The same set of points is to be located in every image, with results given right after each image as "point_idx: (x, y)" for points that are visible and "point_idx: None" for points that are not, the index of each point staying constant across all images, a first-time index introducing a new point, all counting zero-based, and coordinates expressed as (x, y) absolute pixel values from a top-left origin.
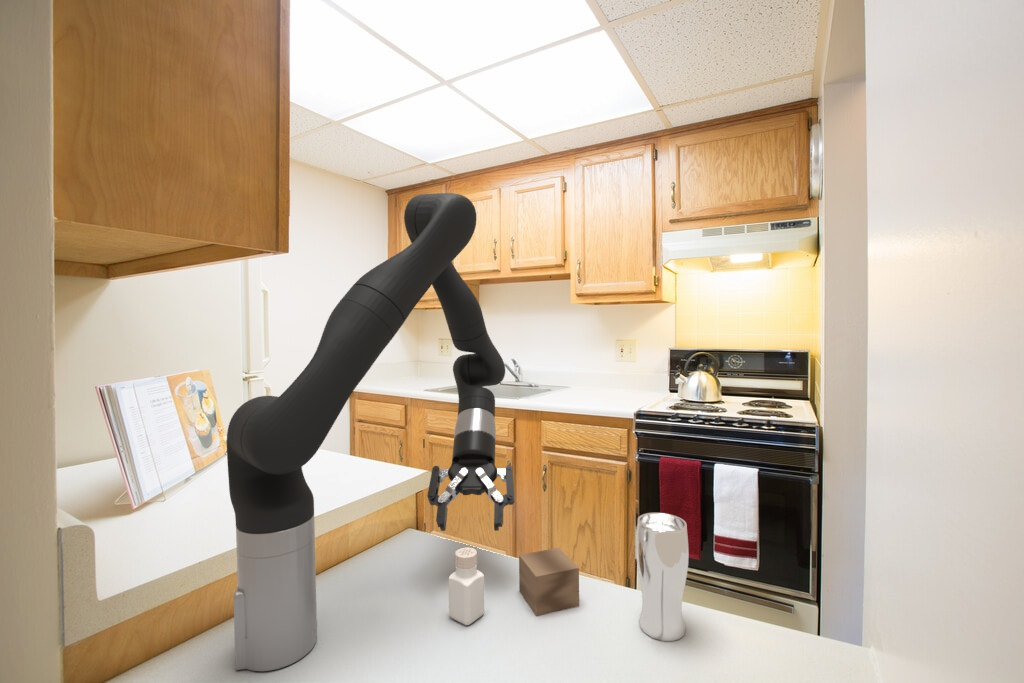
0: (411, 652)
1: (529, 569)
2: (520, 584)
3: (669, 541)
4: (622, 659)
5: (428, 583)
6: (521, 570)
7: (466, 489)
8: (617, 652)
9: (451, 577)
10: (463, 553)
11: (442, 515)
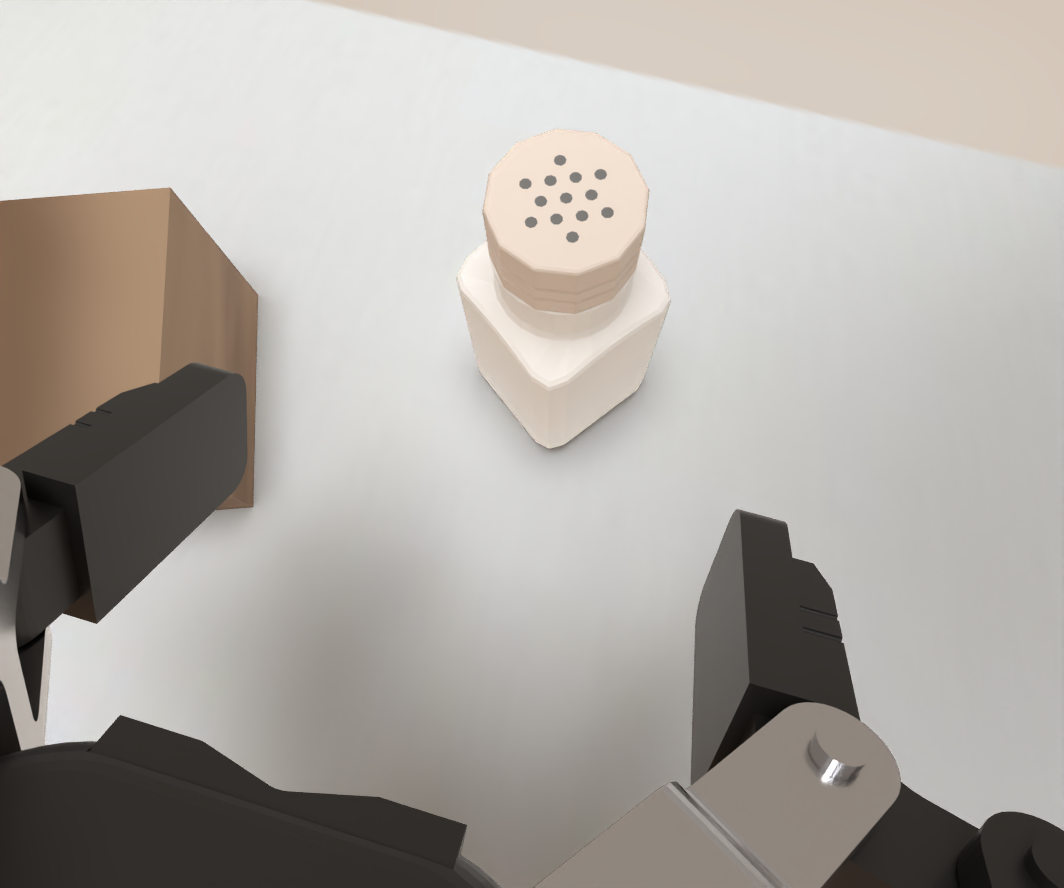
0: (808, 213)
1: (168, 281)
2: None
3: None
4: (80, 9)
5: None
6: None
7: (378, 801)
8: (74, 39)
9: (657, 276)
10: (588, 185)
11: (773, 573)
